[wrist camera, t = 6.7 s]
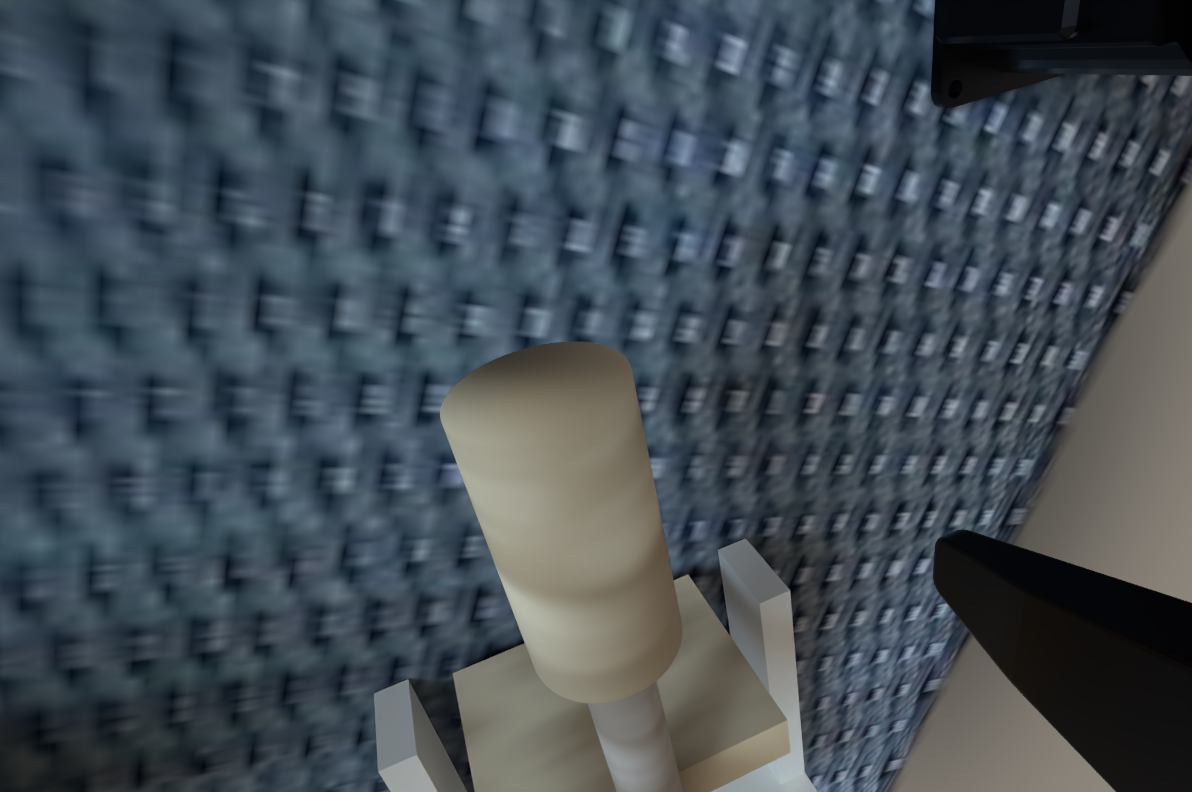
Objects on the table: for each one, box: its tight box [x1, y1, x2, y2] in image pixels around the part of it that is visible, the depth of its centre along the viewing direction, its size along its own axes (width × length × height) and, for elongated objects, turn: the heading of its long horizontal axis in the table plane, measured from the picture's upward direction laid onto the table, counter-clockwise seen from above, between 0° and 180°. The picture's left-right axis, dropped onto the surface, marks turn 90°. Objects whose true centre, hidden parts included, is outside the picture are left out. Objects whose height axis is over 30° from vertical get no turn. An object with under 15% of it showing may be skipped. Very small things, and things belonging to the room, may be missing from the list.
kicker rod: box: [440, 342, 791, 792], centre depth 17 cm, size 9×16×10 cm, turn 13°
